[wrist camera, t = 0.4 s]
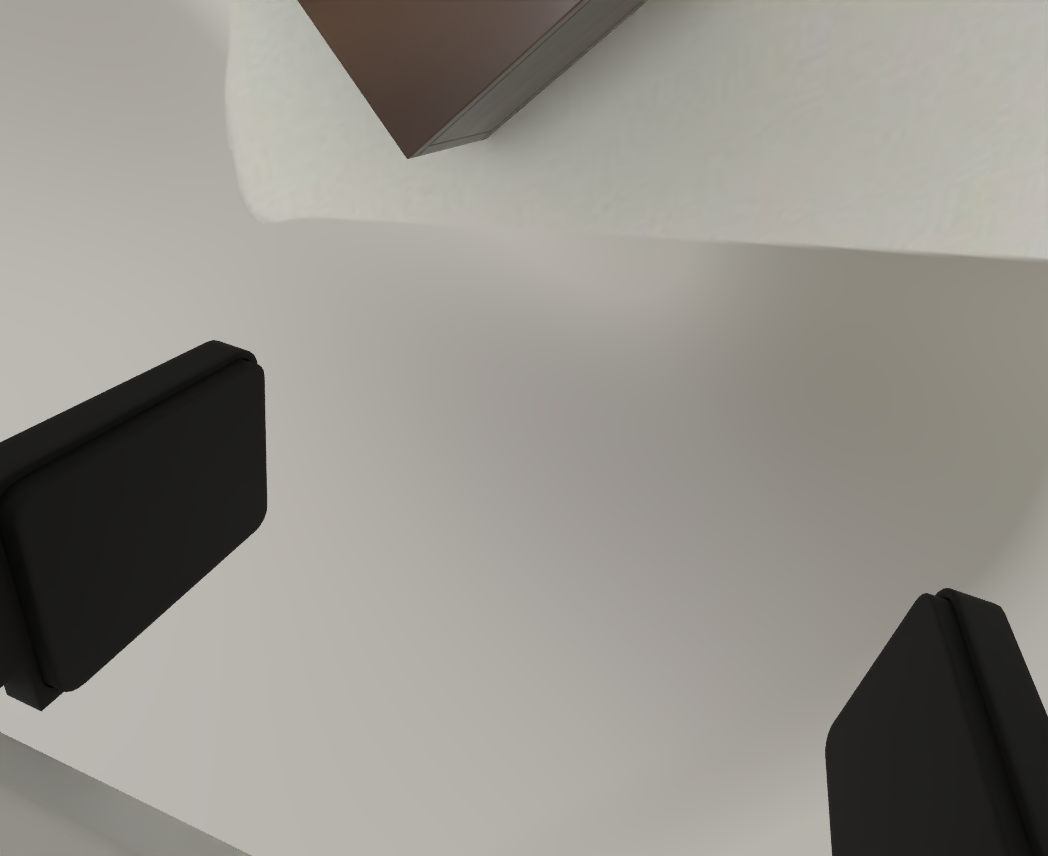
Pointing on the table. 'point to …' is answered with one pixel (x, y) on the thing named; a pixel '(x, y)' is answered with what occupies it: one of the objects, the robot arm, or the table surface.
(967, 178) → the table surface
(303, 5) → the cabinet
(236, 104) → the table surface
